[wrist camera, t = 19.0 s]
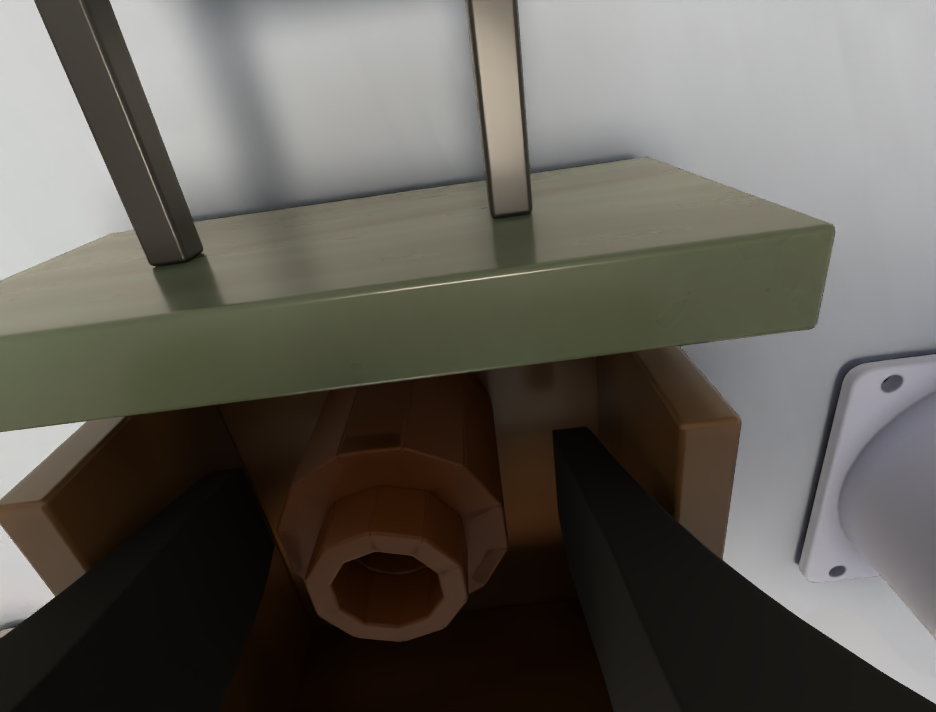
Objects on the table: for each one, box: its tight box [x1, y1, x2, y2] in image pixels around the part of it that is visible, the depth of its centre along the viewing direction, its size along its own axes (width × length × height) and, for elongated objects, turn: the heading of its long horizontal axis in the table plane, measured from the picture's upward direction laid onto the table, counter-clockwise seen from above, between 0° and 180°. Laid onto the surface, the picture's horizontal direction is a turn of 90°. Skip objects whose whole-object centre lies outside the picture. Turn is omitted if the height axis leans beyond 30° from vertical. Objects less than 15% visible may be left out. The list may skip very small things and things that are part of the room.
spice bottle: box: [277, 372, 509, 642], centre depth 10 cm, size 4×4×4 cm
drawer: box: [0, 0, 835, 712], centre depth 10 cm, size 17×11×6 cm, turn 8°
